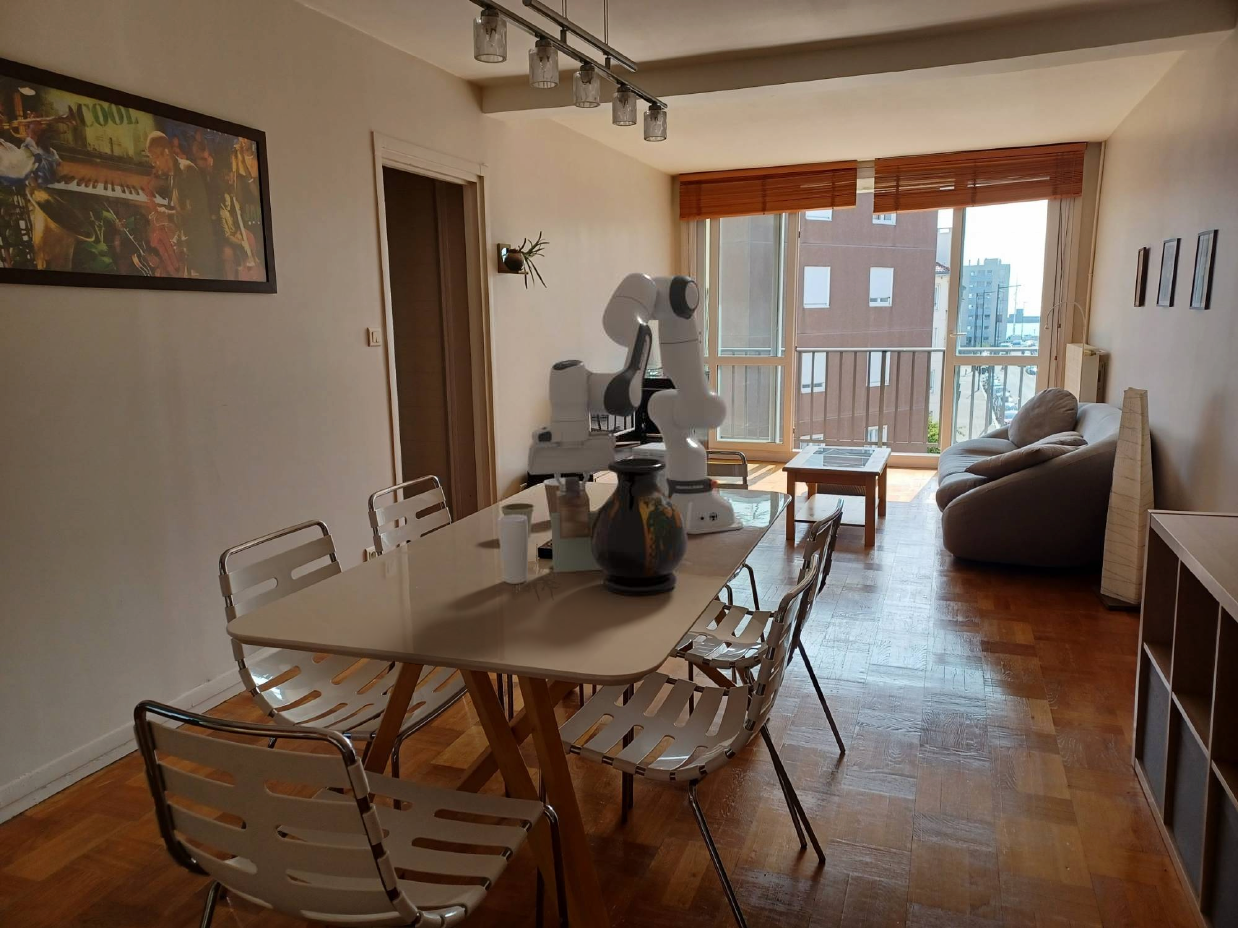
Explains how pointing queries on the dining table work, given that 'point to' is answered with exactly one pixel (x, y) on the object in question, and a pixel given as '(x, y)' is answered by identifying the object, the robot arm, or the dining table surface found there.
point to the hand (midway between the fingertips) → (572, 491)
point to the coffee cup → (552, 493)
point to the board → (572, 550)
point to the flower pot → (519, 511)
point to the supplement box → (657, 453)
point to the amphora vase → (638, 531)
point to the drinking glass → (514, 547)
